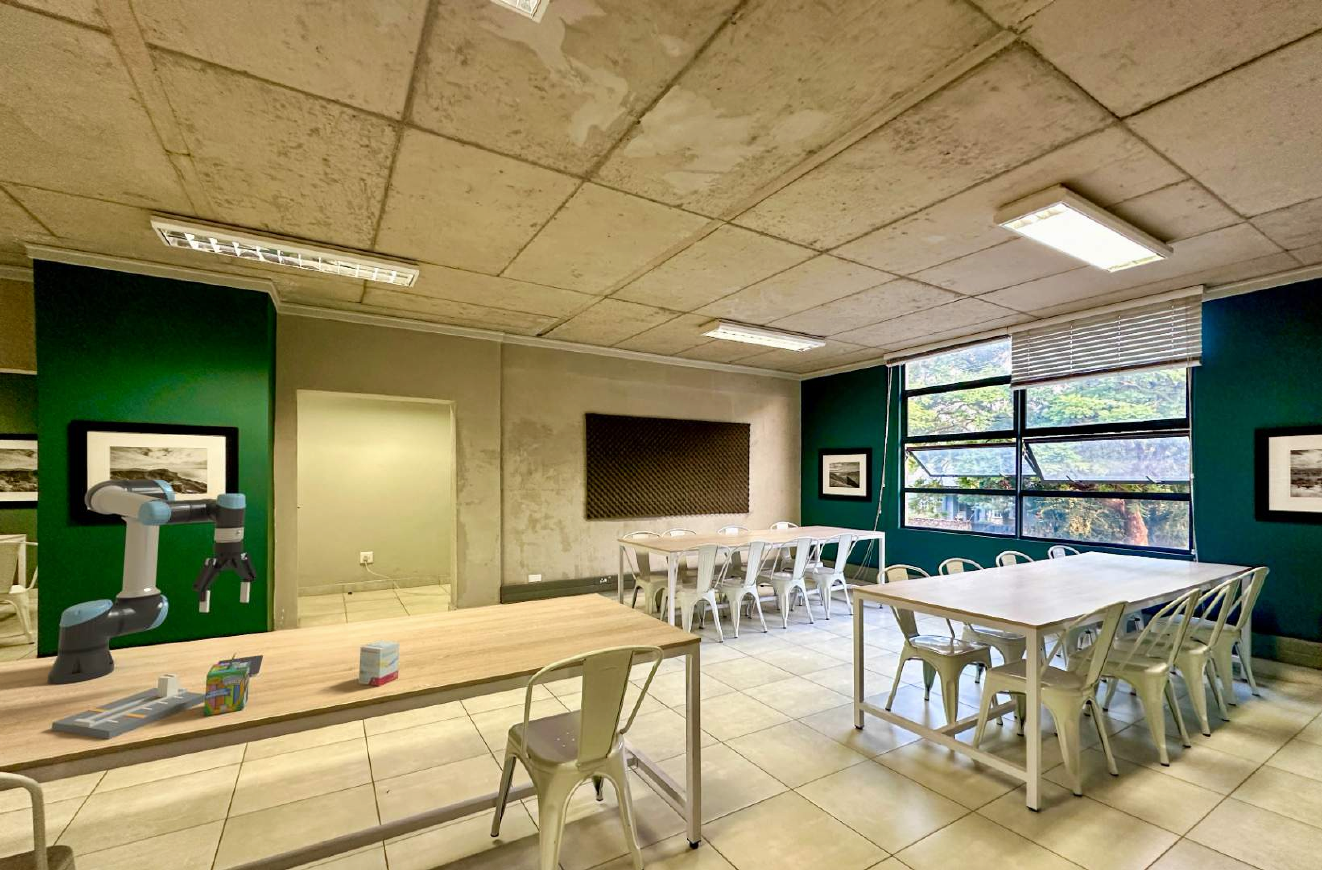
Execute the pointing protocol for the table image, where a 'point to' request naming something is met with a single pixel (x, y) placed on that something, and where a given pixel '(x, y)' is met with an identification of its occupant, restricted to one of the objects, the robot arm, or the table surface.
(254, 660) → the notebook
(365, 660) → the ink box
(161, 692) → the fader tab
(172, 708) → the console
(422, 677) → the table surface
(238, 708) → the chalk box
